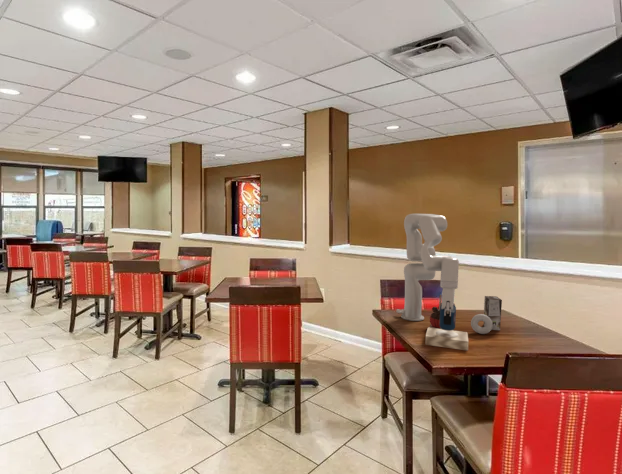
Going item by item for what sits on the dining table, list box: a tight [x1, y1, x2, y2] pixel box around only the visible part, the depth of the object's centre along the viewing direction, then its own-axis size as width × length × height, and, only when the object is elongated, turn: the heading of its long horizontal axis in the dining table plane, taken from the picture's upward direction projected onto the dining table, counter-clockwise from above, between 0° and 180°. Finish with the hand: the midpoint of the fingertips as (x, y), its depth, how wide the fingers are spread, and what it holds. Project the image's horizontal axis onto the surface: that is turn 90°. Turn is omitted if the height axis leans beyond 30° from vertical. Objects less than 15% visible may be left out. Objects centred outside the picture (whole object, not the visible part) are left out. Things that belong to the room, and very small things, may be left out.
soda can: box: [439, 303, 457, 331], centre depth 170 cm, size 7×7×12 cm
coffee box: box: [483, 295, 503, 331], centre depth 195 cm, size 9×6×16 cm
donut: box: [470, 313, 493, 335], centre depth 184 cm, size 10×4×10 cm, turn 66°
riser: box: [424, 326, 469, 351], centre depth 170 cm, size 18×14×4 cm
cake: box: [429, 294, 442, 329], centre depth 190 cm, size 11×9×18 cm
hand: (447, 321), depth 170 cm, fingers closed on soda can, 6 cm apart
